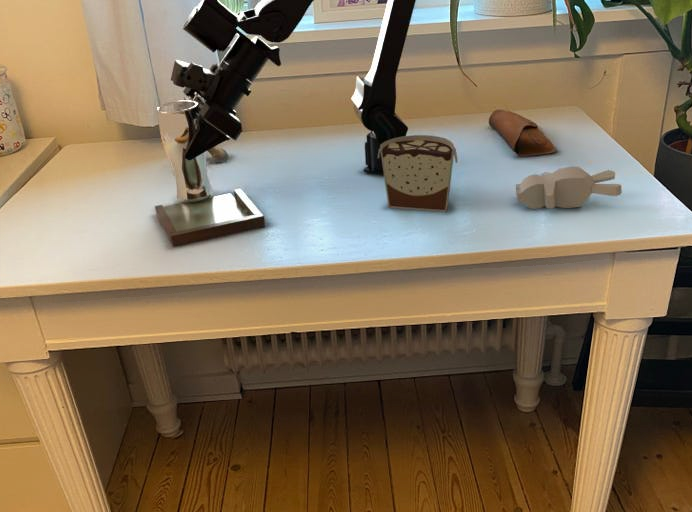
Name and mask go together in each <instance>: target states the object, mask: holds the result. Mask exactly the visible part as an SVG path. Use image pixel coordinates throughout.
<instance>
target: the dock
mask: <svg viewBox="0 0 692 512" xmlns="http://www.w3.org/2000/svg"><path fill="white" fill-rule="evenodd" d="M233 194H234V195H233ZM233 194H232V193H231V192H230V193H224V194H220V195H215V196H211V197H209V198H207V199H205V200H202V201H198V202H182V203H176V204H171V205H167V206H163V204H158V205H155V206H154V210H155V214H156V218H157V219H158V221H159V223H160V225H161V227H162V229H163V230H164V232H165V234H166V237H167V238H168V240H169V242H170V244H171V246H172V248H176V247H181V246H185V245H189V244H193V243H198V242H199V243H200V242H203V241H207V240H212V239H216V238H221V237H226V236H230V235H235V234H238V233H239V234H240V233H243V232H247V231H252V230H256V229H261V228H265V227H266V221H265V215H264V214H263V213H262V211H260V210H259V208H258V207H257V206H256V205H255V204H254V202H253V201H252V200H251V199H250V198H249V196H247V194H246V193H245V192H244V191H243V190H242V188H236V189H233Z"/></svg>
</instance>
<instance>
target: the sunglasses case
mask: <svg viewBox="0 0 692 512" xmlns="http://www.w3.org/2000/svg"><path fill="white" fill-rule="evenodd" d="M488 125H489V127H491V128H492V129H493V130H494V131H495V132H496V133H497V134H498V135H499V137H501V138H502V139H503V141H504V142H505V143H506V145H508V147H509V148H510V149H511V151H513V152H514V153H515V155H516V156H517V157H521V158H522V157H539V156H546V155H550V154H554V153H556V152H557V149H556V147H555V146H554V144H553V142H552V141H551V140H550V139H549V138H548V136H546V134H545V133H544V132H543V131H542V130H540V128H539V125H538V124H537V123H536V122H534V121H533V120H532V119H529V118H526V117H524V116H523V115H521V114H518V113H516V112H514V111H510V110H507V109H495V110H494V111H493V112H492V113H491V114H490V116H489V118H488Z"/></svg>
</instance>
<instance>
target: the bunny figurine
mask: <svg viewBox="0 0 692 512" xmlns="http://www.w3.org/2000/svg"><path fill="white" fill-rule="evenodd" d="M615 178H616V171H614V170H610V169H607V170H604V171H601V172H597V173H594V174H592V175H591V174H590V173H589V172H587V171H586V170H585V169H583V168H581V167H580V166H564V167H561V168H558V169H556V170H555V171H553V172H549V171H544V172H542V173H540V175H539V174H535V173H534V174H530V175H528V176H527V177H525V178H523V180H522V181H521V182H519V183H517V184H515V194H516V200H517V204H523V205H524V206H525V207H527V208H529V209H530V210H537V209H538V210H539V209H541V208H542V207H546V208H547V209H554V208H555V207H559V208H562V209H571V208H572V209H573V208H580V207H582V206H584V205H585V204H586V202H587V201H588V199H589V198H590V197H591V195H592V194H595V195H600V196H601V195H602V196H607V197H617V196H621V195H622V193H623V191H622V189H623V188H622V184H621V183H603V182H607V181H612V180H615Z"/></svg>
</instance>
